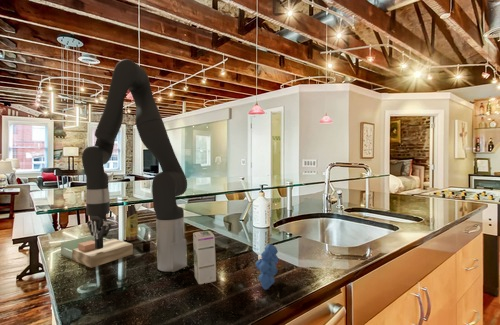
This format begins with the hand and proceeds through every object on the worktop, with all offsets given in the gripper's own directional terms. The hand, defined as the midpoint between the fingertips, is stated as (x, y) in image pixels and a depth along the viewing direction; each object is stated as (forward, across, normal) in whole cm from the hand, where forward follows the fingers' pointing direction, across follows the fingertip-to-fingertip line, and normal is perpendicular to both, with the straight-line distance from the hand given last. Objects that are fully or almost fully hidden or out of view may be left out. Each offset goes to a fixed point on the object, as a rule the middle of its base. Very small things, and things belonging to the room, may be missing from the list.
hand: (99, 248), depth 103 cm
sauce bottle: (+6, +17, -23) cm, 29 cm away
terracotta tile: (+1, +8, 0) cm, 8 cm away
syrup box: (+5, -42, -11) cm, 44 cm away
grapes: (+5, -60, -18) cm, 63 cm away
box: (+6, +17, -4) cm, 18 cm away
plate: (+5, +5, -4) cm, 8 cm away
